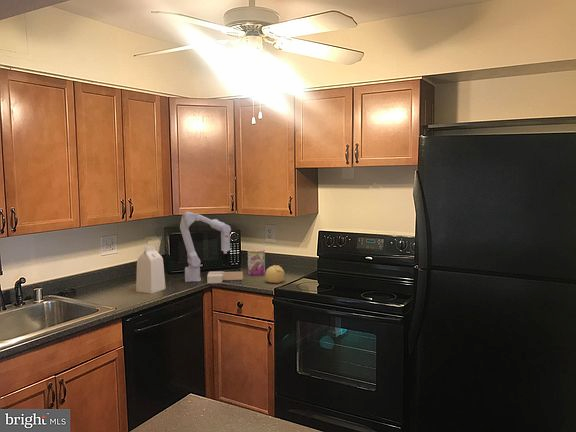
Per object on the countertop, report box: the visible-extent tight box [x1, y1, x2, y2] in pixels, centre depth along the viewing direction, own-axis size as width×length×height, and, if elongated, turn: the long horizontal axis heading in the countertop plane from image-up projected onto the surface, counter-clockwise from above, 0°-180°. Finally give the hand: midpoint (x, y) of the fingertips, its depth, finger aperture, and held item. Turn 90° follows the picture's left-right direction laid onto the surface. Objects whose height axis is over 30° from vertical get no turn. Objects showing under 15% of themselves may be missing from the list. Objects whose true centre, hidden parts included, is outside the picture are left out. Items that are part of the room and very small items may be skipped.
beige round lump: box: [264, 264, 285, 284], centre depth 291 cm, size 11×12×11 cm
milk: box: [135, 245, 166, 294], centre depth 274 cm, size 12×12×26 cm
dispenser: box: [206, 270, 225, 284], centre depth 297 cm, size 10×14×4 cm
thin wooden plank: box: [221, 271, 244, 281], centre depth 298 cm, size 14×1×5 cm, turn 95°
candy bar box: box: [247, 249, 266, 276], centre depth 314 cm, size 11×5×16 cm, turn 84°
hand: (226, 262), depth 308 cm, fingers open, 7 cm apart
